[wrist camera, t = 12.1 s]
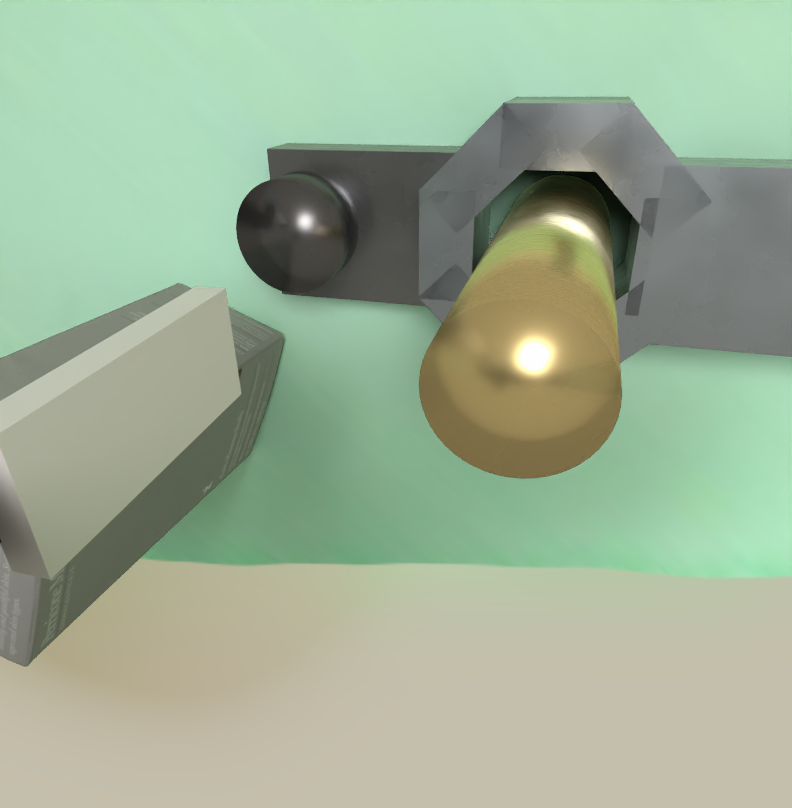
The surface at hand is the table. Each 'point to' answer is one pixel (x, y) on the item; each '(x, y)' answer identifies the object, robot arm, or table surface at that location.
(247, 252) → the grey socket base
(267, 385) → the skincare box
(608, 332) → the brass pin
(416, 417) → the table surface
